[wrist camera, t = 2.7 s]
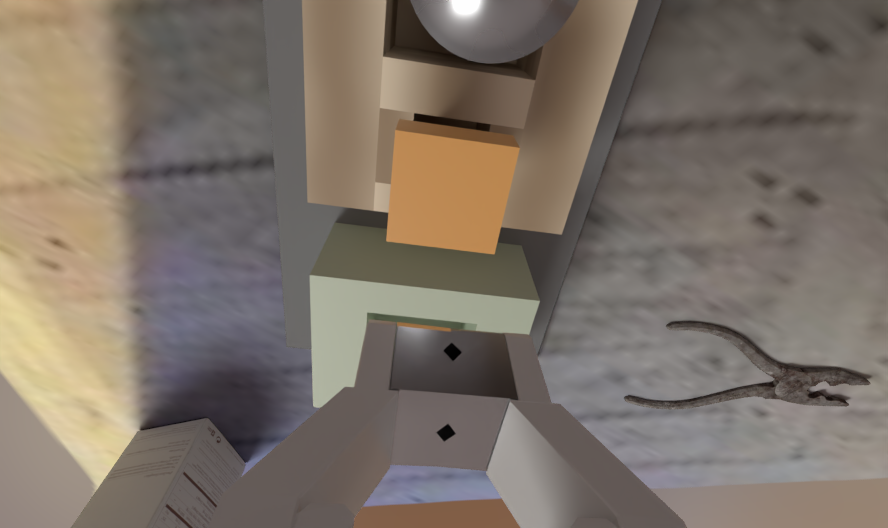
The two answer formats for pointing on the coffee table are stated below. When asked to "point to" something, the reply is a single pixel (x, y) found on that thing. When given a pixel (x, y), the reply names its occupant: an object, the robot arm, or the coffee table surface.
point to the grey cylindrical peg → (493, 26)
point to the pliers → (787, 381)
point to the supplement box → (166, 479)
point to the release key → (449, 186)
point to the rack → (406, 295)
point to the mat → (313, 222)
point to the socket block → (452, 101)
